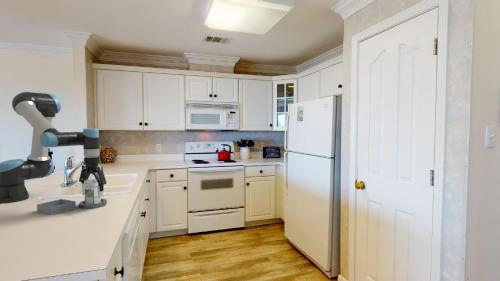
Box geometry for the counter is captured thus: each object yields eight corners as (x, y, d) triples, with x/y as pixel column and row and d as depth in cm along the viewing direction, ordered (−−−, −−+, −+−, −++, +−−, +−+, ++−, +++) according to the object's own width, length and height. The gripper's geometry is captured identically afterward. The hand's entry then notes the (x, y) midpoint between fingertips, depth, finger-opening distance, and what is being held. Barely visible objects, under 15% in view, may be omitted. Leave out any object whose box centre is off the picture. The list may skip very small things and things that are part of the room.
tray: (37, 211, 138) (36, 204, 138) (61, 205, 149) (61, 198, 149) (51, 214, 133) (51, 207, 133) (75, 207, 144) (75, 201, 144)
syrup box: (101, 203, 151) (100, 178, 151) (94, 207, 146) (93, 180, 145) (91, 203, 152) (91, 178, 151) (84, 206, 146) (83, 180, 145)
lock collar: (74, 207, 146) (73, 203, 145) (96, 201, 157) (95, 197, 157) (90, 210, 140) (89, 206, 140) (111, 203, 152) (111, 200, 152)
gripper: (70, 156, 149) (71, 195, 150) (100, 158, 139) (101, 200, 140) (83, 155, 156) (84, 192, 157) (113, 157, 146) (114, 196, 147)
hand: (92, 195), depth 148 cm, fingers open, 12 cm apart
